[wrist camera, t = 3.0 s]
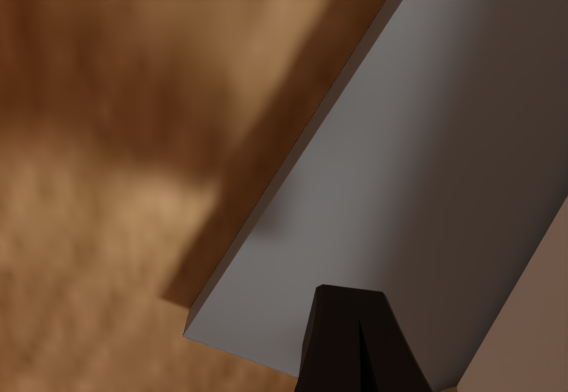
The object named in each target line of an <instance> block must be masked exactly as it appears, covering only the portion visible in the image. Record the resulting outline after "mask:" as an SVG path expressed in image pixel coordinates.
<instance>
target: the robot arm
mask: <svg viewBox="0 0 568 392" xmlns="http://www.w3.org/2000/svg"><path fill="white" fill-rule="evenodd" d="M294 392H433V391H432V389H431V387H430V385H429V383H428V381H427V380H426V378H425V376H424V374H423V372H422V370H421V368H420V367H419V365H418V363H417V361H416V359H415V357H414V355H413V353H412V351H411V349H410V347H409V345H408V343H407V341H406V339H405V337H404V335H403V332H402V330H401V328H400V326H399V324H398V322H397V320H396V317H395V315H394V313H393V311H392V308H391V306H390V304H389V301H388V299H387V297H386V295H385V294H384V293H383V292H381V291H373V290H366V289H358V288H350V287H342V286H334V285H326V284H322V285H320V286H318V287H316V290H315V294H314V298H313V302H312V306H311V310H310V314H309V319H308V323H307V327H306V331H305V335H304V339H303V343H302V354H301V363H300V370H299V377H298V382H297V385H296V387H295V390H294Z"/></svg>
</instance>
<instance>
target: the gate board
mask: <svg viewBox="0 0 568 392" xmlns="http://www.w3.org/2000/svg"><path fill="white" fill-rule="evenodd" d="M567 196H568V0H386V1H385V3H384V4H383V6H382V7H381V9H380V11H379V12H378V14H377V15H376V17H375V18H374V20H373V22H372V23H371V25H370V26H369V28H368V29H367V31H366V33H365V34H364V36H363V37H362V39H361V41H360V42H359V44H358V45H357V47H356V48H355V50H354V52H353V53H352V55H351V56H350V58H349V59H348V61H347V63H346V64H345V66H344V67H343V69H342V70H341V72H340V74H339V75H338V77H337V78H336V80H335V81H334V83H333V85H332V86H331V88H330V89H329V91H328V92H327V94H326V96H325V97H324V99H323V100H322V102H321V103H320V105H319V107H318V108H317V110H316V111H315V113H314V114H313V116H312V118H311V119H310V121H309V122H308V124H307V126H306V127H305V129H304V130H303V132H302V133H301V135H300V137H299V138H298V140H297V141H296V143H295V144H294V146H293V148H292V149H291V151H290V152H289V154H288V155H287V157H286V159H285V160H284V162H283V163H282V165H281V166H280V168H279V170H278V171H277V173H276V174H275V176H274V177H273V179H272V181H271V182H270V184H269V185H268V187H267V188H266V190H265V192H264V193H263V195H262V196H261V198H260V199H259V201H258V203H257V204H256V206H255V207H254V209H253V211H252V212H251V214H250V215H249V217H248V218H247V220H246V222H245V223H244V225H243V226H242V228H241V229H240V231H239V233H238V234H237V236H236V237H235V239H234V240H233V242H232V244H231V245H230V247H229V248H228V250H227V251H226V253H225V255H224V256H223V258H222V259H221V261H220V262H219V264H218V266H217V267H216V269H215V270H214V272H213V273H212V275H211V277H210V278H209V280H208V281H207V283H206V284H205V286H204V288H203V289H202V291H201V292H200V294H199V296H198V297H197V299H196V300H195V302H194V303H193V305H192V307H191V308H190V310H189V313H188V317H187V321H186V325H185V329H184V333H183V337H186V338H188V339H191V340H194V341H197V342H200V343H202V344H205V345H208V346H211V347H213V348H216V349H219V350H222V351H225V352H227V353H230V354H233V355H236V356H238V357H241V358H244V359H247V360H250V361H252V362H255V363H258V364H261V365H263V366H266V367H269V368H272V369H275V370H277V371H280V372H283V373H286V374H288V375H291V376H294V377H297V378H298V377H299V370H300V363H301V354H302V343H303V339H304V335H305V331H306V327H307V323H308V319H309V314H310V310H311V306H312V302H313V298H314V294H315V290H316V287H318V286H320V285H322V284H326V285H334V286H342V287H350V288H358V289H366V290H373V291H381V292H383V293H384V294H385V295H386V297H387V299H388V301H389V304H390V306H391V308H392V311H393V313H394V315H395V317H396V320H397V322H398V324H399V326H400V328H401V330H402V332H403V335H404V337H405V339H406V341H407V343H408V345H409V347H410V349H411V351H412V353H413V355H414V357H415V359H416V361H417V363H418V365H419V367H420V368H421V370H422V372H423V374H424V376H425V378H426V380H427V381H428V383H429V385H430V387H431V389H432V391H433V392H441V391H443V390H445V389H448V388H452V387H457V385H458V383H459V382H460V380H461V378H462V376H463V375H464V373H465V371H466V370H467V368H468V366H469V364H470V363H471V361H472V359H473V358H474V356H475V354H476V352H477V351H478V349H479V347H480V346H481V344H482V342H483V340H484V339H485V337H486V335H487V333H488V332H489V330H490V328H491V327H492V325H493V323H494V321H495V320H496V318H497V316H498V315H499V313H500V311H501V309H502V308H503V306H504V304H505V303H506V301H507V299H508V297H509V296H510V294H511V292H512V291H513V289H514V287H515V285H516V284H517V282H518V280H519V279H520V277H521V275H522V273H523V272H524V270H525V268H526V266H527V265H528V263H529V261H530V260H531V258H532V256H533V254H534V253H535V251H536V249H537V248H538V246H539V244H540V242H541V241H542V239H543V237H544V236H545V234H546V232H547V230H548V229H549V227H550V225H551V224H552V222H553V220H554V218H555V217H556V215H557V213H558V211H559V210H560V208H561V206H562V205H563V203H564V201H565V199H566V198H567Z"/></svg>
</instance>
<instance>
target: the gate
mask: <svg viewBox="0 0 568 392" xmlns="http://www.w3.org/2000/svg"><path fill="white" fill-rule="evenodd" d="M441 392H568V196H567V198H566V199H565V201H564V203H563V205H562V206H561V208H560V210H559V211H558V213H557V215H556V217H555V218H554V220H553V222H552V224H551V225H550V227H549V229H548V230H547V232H546V234H545V236H544V237H543V239H542V241H541V242H540V244H539V246H538V248H537V249H536V251H535V253H534V254H533V256H532V258H531V260H530V261H529V263H528V265H527V266H526V268H525V270H524V272H523V273H522V275H521V277H520V279H519V280H518V282H517V284H516V285H515V287H514V289H513V291H512V292H511V294H510V296H509V297H508V299H507V301H506V303H505V304H504V306H503V308H502V309H501V311H500V313H499V315H498V316H497V318H496V320H495V321H494V323H493V325H492V327H491V328H490V330H489V332H488V333H487V335H486V337H485V339H484V340H483V342H482V344H481V346H480V347H479V349H478V351H477V352H476V354H475V356H474V358H473V359H472V361H471V363H470V364H469V366H468V368H467V370H466V371H465V373H464V375H463V376H462V378H461V380H460V382H459V383H458V385H457V387H452V388H448V389H445V390H443V391H441Z"/></svg>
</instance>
